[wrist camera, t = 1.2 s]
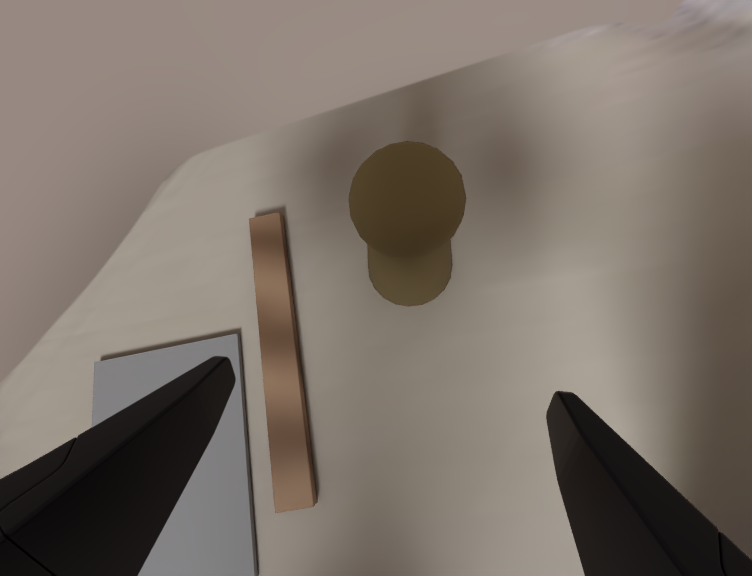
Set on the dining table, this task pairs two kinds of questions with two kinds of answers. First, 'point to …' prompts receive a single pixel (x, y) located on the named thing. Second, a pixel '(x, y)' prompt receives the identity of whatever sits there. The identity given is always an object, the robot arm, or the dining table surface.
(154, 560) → the mat
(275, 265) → the walnut line
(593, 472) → the robot arm
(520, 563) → the dining table surface
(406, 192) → the cork
